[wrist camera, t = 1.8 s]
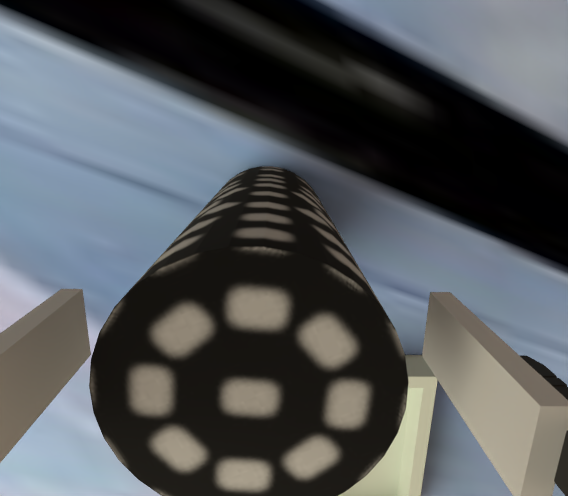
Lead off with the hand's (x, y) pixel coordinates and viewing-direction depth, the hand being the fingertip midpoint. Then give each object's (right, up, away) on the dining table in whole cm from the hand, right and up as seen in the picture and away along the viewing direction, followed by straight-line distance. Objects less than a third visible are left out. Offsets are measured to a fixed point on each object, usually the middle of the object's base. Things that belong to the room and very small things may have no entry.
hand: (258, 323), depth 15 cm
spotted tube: (0, +5, +15) cm, 15 cm away
